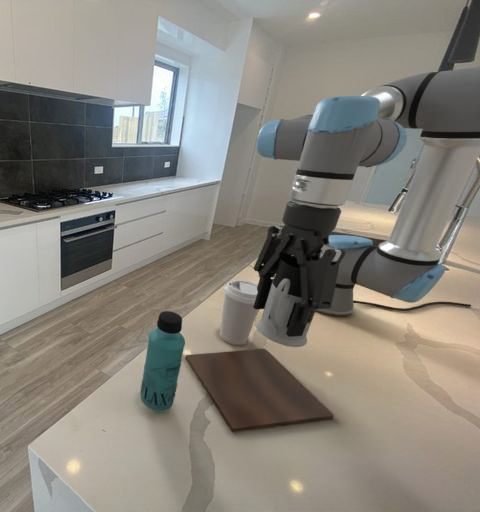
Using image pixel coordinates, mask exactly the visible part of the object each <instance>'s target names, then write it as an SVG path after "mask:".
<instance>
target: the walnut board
mask: <svg viewBox="0 0 480 512" xmlns="http://www.w3.org/2000/svg"><path fill="white" fill-rule="evenodd" d="M184 359H185V361H186V362H187V364H188V365H189V367H190V369H191V370H192V372H193V373H194V375H195V376H196V378H197V379H198V381H199V382H200V384H201V386H202V387H203V388H204V390H205V392H206V393H207V395H208V396H209V398H210V400H211V402H212V403H213V404H214V406H215V408H216V409H217V411H218V413H219V414H220V416H221V417H222V419H223V420H224V422H225V424H226V425H227V426H228V428H229V430H230V431H231V432H232V433H236V432H244V431H252V430H259V429H267V428H275V427H281V426H289V425H295V424H296V425H297V424H305V423H312V422H320V421H326V420H327V421H328V420H332V419H333V418H334V416H335V415H334V414H333V412H331V411H330V410H329V408H328V407H326V405H324V403H322V402H321V401H320V400H319V399H318V398H317V396H315V395H314V394H313V393H312V392H311V391H310V390H308V388H307V387H305V385H303V384H302V382H300V380H299V379H297V377H295V376H294V375H293V374H292V373H291V372H290V371H289V370H288V369H287V368H286V367H285V366H284V365H282V363H280V361H278V360H277V359H276V357H274V356H273V355H272V354H271V353H270V352H269V350H267V349H266V348H257V349H245V350H232V351H231V350H230V351H220V352H219V351H218V352H209V353H207V352H205V353H195V354H185V358H184Z"/></svg>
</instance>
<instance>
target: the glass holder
mask: <svg viewBox="0 0 480 512" xmlns="http://www.w3.org/2000/svg"><path fill="white" fill-rule="evenodd" d="M306 260H307V261H311V260H312V259H306ZM272 279H273V282H272V285H271V288H270V292H269V295H268V298H267V301H266V305H265V308H264V309H263V311H262V315H261V318H260V320H258V322H257V323H256V329H257V331H258V333H260V334H261V335H262V336H263V337H264V338H266V339H268V340H269V341H271V342H274V343H276V344H278V345H282V346H285V347H291V348H302V347H304V346H306V345H307V343H308V337H307V335H308V332H309V330H310V327H311V324H312V322H313V319H314V316H315V313H316V312H315V313H314V316H313V318H312V321H311V322H310V323H307V324H306V327H305V330H304V332H303V335H302V336H293V337H289V336H287V335H286V332H287V329H288V326H289V323H290V321H291V318H292V315H293V312H294V309H295V306H296V303H300V302H302V295H301V274H300V266H299V265H298V263H297V258H295V257H294V256H293V255H292V256H291V257H290V258H289V259H288V260H287V261H286V263H285V262H284V261H283V260H282V259H280V262H279V266H278V269H277V272H276V274H275V278H272ZM311 299H312V298H311Z"/></svg>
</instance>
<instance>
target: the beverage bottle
mask: <svg viewBox="0 0 480 512" xmlns="http://www.w3.org/2000/svg"><path fill="white" fill-rule="evenodd" d="M182 327H183V317H182V316H181V315H180V314H178V313H177V312H174V311H171V310H170V311H169V310H166V311H161V312H160V313H159V314H158V318H157V321H156V327H155V328H153V329H152V330H151V331H150V332H149V333H148V342H147V348H146V355H145V362H144V365H143V372H142V379H141V386H140V395H139V396H140V399H141V402H142V403H143V405H144V406H145V407H146V408H147V409H150V410H151V411H154V412H166V411H168V410H169V409H170V408H171V407H172V406H173V405H174V400H175V399H176V392H177V389H178V388H177V387H178V380H179V376H180V375H179V374H180V372H181V367H182V361H183V359H182V358H183V353H184V348H185V345H186V339H185V338H184V336H183V334H182V333H181V331H182V330H183V329H182Z"/></svg>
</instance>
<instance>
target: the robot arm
mask: <svg viewBox="0 0 480 512" xmlns="http://www.w3.org/2000/svg"><path fill="white" fill-rule="evenodd" d="M405 129H413V130H416V129H417V130H419V129H421V133H420V135H419V139H420V141H422V143H423V144H424V148H423V151H422V154H421V156H420V159H419V161H418V163H417V167H416V169H415V172H414V174H413V176H412V179H411V182H410V183H409V187H408V189H407V191H406V195H405V197H404V200H403V201H402V202H403V203H402V205H401V208H400V209H399V213H398V215H397V218H396V221H395V223H394V225H393V227H392V231H391V233H390V235H389V237H388V239H387V240H385V241H383V242H380V243H379V244H378V246H377V247H375V246H373V245H374V241H373V240H372V239H370V238H367V237H363V236H355V235H347V234H332V233H333V231H334V230H336V228H337V224H338V222H339V219H340V217H341V214H342V210H341V208H340V207H341V206H343V205H345V204H346V201H347V198H348V195H349V192H350V190H351V186H352V184H353V181H354V178H355V176H356V173H357V170H358V167H361V168H363V167H364V168H372V167H377V166H381V165H384V164H386V163H389V162H391V161H392V160H394V159H396V157H397V156H399V155H400V154H401V152H402V151H403V150H404V148H405V146H406V144H407V139H408V135H407V131H406V130H405ZM256 151H257V153H258V154H259V155H260V156H261V157H263V158H268V159H273V160H281V161H282V160H283V161H294V162H295V161H297V162H299V163H298V166H297V169H296V172H295V176H294V179H293V182H292V186H291V189H290V192H289V196H288V197H289V198H290V201H288V202H287V203H286V205H285V209H284V212H283V216H282V220H281V222H282V223H283V224H284V225H283V226H282V225H270V226H269V227H268V229H267V235H266V239H265V241H264V243H263V246H262V248H261V250H260V252H259V255H258V256H257V259H256V261H255V263H254V266H253V270H254V271H255V272H257V273H258V277H259V279H258V283H257V285H258V286H257V291H258V293H257V296H256V300H255V303H254V307H253V308H254V309H259V310H264V308H265V305H266V301H267V298H268V295H269V292H270V288H271V285H272V282H273V279H274V278H275V275H276V272H277V269H278V266H279V262H280V259H282V260H283V261H284V262H285V263H286V261H287V260H288V259H289V258H290V257H291V256H294V257H295V258H297V263H298V265H299V266H300V274H301V295H302V302H300V303H296V306H295V309H294V312H293V315H292V318H291V321H290V323H289V326H288V329H287V332H286V335H287V336H289V337H293V336H302V335H303V332H304V330H305V327H306V324H307V323H310V322H311V321H312V322H313V319H314V317H313V316H315V314H314V313H316V312H317V313H321V314H323V315H328V316H334V317H348V316H350V315H351V314H352V313H353V310H354V307H355V306H354V304H356V305H357V304H358V305H365V306H366V305H367V306H372V307H377V308H382V309H387V310H390V311H397V312H410V311H415V310H418V309H419V310H420V309H422V308H425V307H428V306H429V307H430V306H434V305H452V306H458V307H459V306H460V307H468V308H471V307H472V304H471V303H470V304H469V303H462V302H454V301H431V302H426V303H422V304H420V305H417V306H411V307H406V308H405V307H403V308H402V307H393V306H389V305H384V304H379V303H373V302H370V301H369V302H368V301H362V300H354V288H355V286H356V285H357V286H360V287H363V288H365V289H368V290H371V291H373V292H376V293H378V294H381V295H383V296H387V297H389V298H391V299H395V300H398V301H402V302H405V303H409V304H414V303H417V302H419V301H421V300H422V299H424V298H425V296H426V295H428V294H429V293H430V292H431V291H432V290H433V288H434V287H435V286H436V285H437V284H438V282H439V281H440V280H441V278H443V276H444V274H445V272H446V270H447V267H446V265H444V264H443V263H439V262H440V259H441V257H442V255H441V253H440V252H439V251H438V250H437V249H436V247H437V245H438V243H439V241H440V239H441V237H442V234H443V233H444V230H445V228H446V226H447V224H448V222H449V220H450V217H451V216H452V213H453V212H454V209H455V207H456V205H457V203H458V201H459V199H460V197H461V194H462V192H463V190H464V188H465V186H466V184H467V181H468V179H469V177H470V175H471V173H472V172H473V169H474V166H475V165H476V162H477V160H478V158H479V156H480V66H476V67H475V66H474V67H468V68H458V69H449V70H441V71H431V72H430V71H429V72H424V73H418V74H414V75H410V76H407V77H406V76H405V77H403V78H401V79H397V80H394V81H391V82H387V83H385V84H381V85H379V86H376V87H373V88H370V89H368V90H366V91H365V92H364V93H362V94H361V95H342V96H332V97H327V98H324V99H322V100H320V101H319V102H318V103H317V104H316V107H315V109H314V111H313V112H312V113H309V114H306V115H301V116H299V117H295V118H292V119H285V118H280V119H275V120H270V121H269V120H268V121H267V122H265V124H264V125H263V126H261V128H260V130H259V132H258V134H257V137H256ZM339 206H340V207H339ZM306 259H312V260H311V261H307V260H306ZM311 298H312V299H311ZM312 318H313V319H312ZM312 322H311V323H312Z"/></svg>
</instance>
